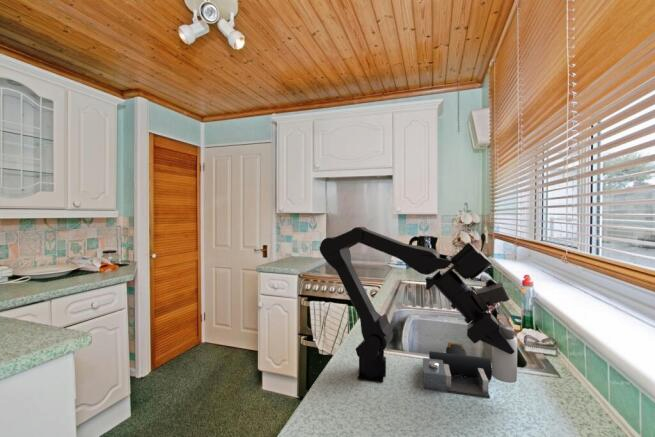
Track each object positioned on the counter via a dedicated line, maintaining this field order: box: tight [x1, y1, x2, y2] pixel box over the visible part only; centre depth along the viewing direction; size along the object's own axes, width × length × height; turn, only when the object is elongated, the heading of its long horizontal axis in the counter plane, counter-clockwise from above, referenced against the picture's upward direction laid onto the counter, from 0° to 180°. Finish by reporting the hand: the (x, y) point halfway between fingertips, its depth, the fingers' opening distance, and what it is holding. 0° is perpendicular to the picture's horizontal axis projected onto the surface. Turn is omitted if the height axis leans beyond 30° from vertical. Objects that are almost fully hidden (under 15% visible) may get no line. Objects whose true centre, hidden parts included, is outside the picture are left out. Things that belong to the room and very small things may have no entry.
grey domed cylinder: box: [491, 323, 518, 384], centre depth 68 cm, size 5×5×11 cm
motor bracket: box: [422, 357, 491, 399], centre depth 78 cm, size 15×8×5 cm, turn 75°
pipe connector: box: [428, 341, 493, 380], centre depth 86 cm, size 12×5×15 cm
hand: (511, 348), depth 68 cm, fingers closed on grey domed cylinder, 5 cm apart
